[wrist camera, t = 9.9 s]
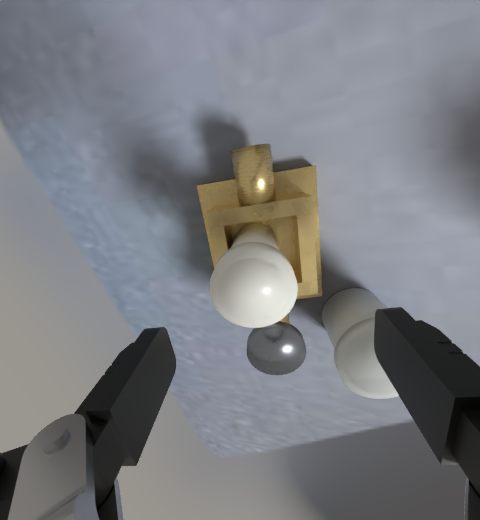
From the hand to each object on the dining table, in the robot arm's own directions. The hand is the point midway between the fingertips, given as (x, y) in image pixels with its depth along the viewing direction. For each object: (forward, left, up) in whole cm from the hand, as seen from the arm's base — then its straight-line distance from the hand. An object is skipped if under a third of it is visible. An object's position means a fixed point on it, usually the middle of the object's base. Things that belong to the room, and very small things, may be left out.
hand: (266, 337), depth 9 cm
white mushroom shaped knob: (0, -1, -14) cm, 14 cm away
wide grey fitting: (+9, +8, -15) cm, 19 cm away
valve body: (0, 0, -15) cm, 15 cm away
